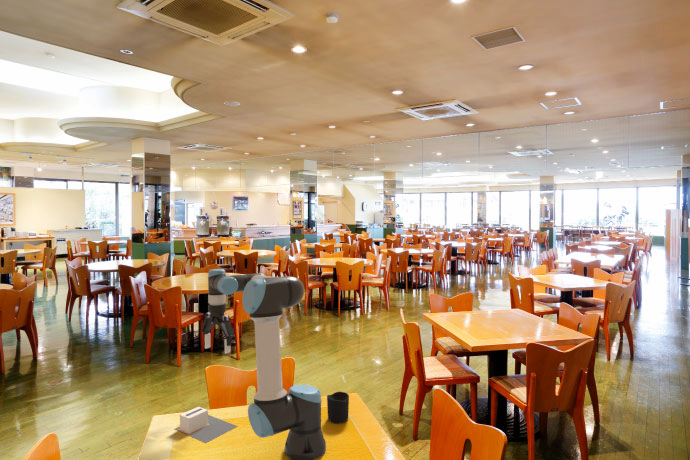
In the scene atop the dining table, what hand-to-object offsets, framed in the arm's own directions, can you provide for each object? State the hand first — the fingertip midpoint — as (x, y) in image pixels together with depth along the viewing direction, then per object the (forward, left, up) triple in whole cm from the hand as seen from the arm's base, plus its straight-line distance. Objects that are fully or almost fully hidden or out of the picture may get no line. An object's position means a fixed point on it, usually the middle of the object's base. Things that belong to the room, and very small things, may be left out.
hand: (217, 350), depth 190 cm
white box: (-7, +17, -26) cm, 32 cm away
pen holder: (-51, -22, -27) cm, 62 cm away
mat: (-11, +15, -27) cm, 33 cm away
